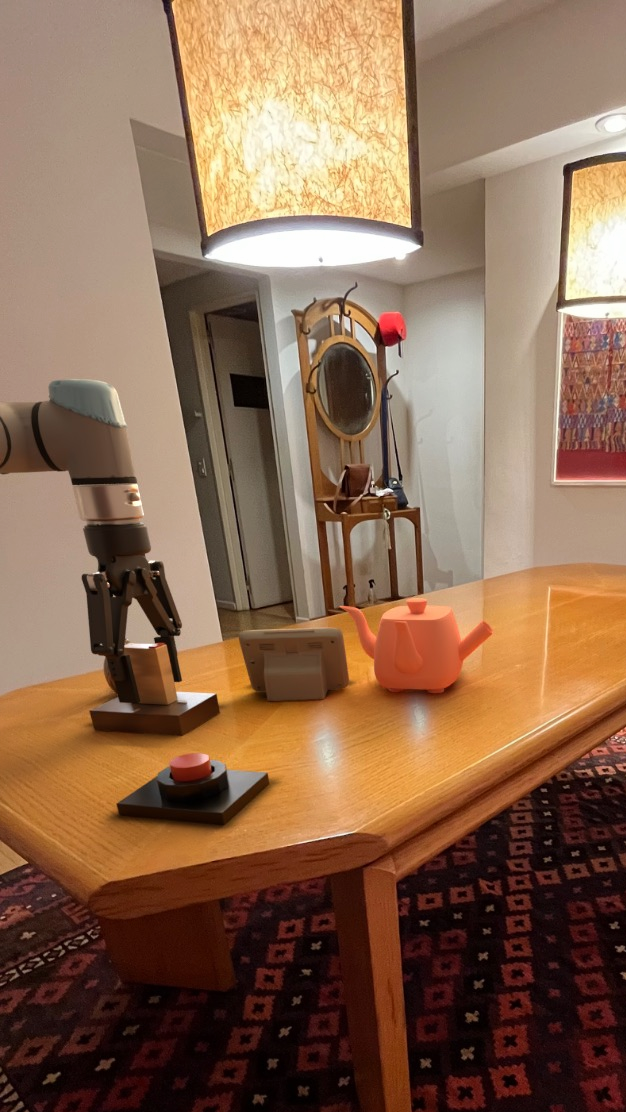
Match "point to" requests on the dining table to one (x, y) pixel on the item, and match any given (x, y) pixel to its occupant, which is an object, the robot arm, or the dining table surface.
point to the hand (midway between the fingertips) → (152, 691)
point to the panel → (156, 715)
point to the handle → (152, 673)
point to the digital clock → (295, 662)
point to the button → (190, 767)
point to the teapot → (417, 645)
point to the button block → (195, 796)
